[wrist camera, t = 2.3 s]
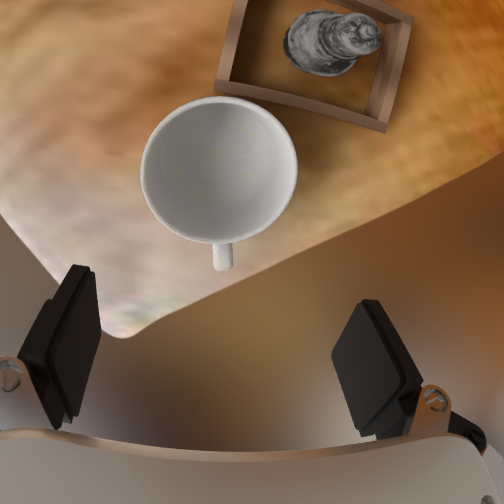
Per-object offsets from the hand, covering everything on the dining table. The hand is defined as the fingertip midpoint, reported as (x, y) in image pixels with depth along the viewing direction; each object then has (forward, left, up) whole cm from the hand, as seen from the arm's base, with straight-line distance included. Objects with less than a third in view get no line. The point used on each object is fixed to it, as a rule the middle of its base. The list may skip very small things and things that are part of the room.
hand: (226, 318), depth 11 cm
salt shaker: (-12, +6, -21) cm, 25 cm away
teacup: (+1, 0, -21) cm, 21 cm away
